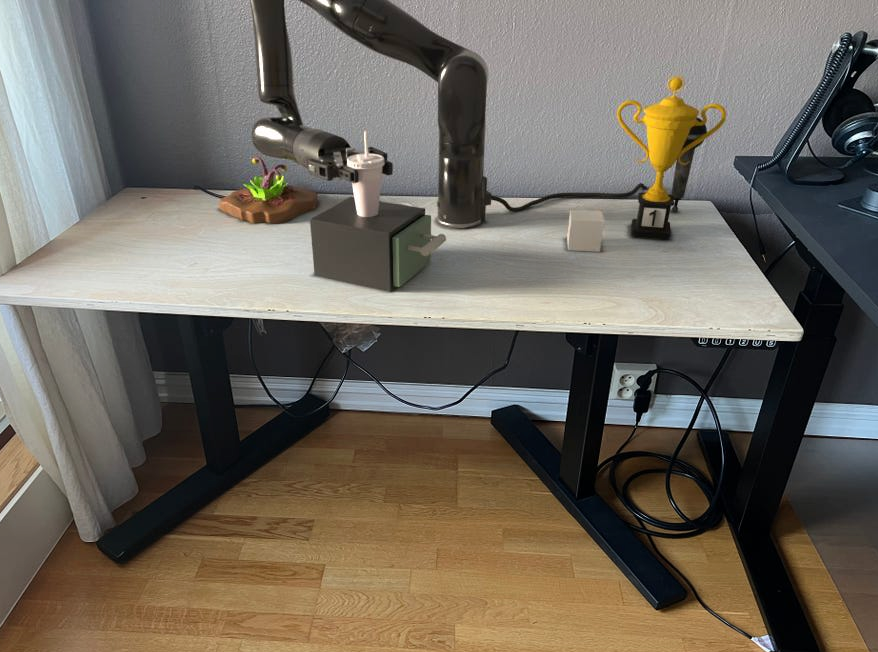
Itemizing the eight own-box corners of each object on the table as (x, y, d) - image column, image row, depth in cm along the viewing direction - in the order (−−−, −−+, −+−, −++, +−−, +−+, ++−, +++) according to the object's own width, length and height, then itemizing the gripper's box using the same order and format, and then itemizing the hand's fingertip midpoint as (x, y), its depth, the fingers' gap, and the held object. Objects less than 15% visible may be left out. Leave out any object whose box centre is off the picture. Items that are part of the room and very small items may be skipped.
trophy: (600, 237, 143) (621, 78, 127) (602, 220, 151) (622, 69, 135) (702, 246, 138) (737, 82, 123) (698, 228, 146) (731, 72, 131)
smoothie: (391, 209, 127) (389, 128, 120) (378, 221, 122) (375, 138, 115) (357, 205, 129) (354, 126, 122) (343, 217, 124) (339, 135, 116)
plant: (269, 188, 173) (264, 141, 168) (331, 202, 163) (327, 153, 158) (206, 211, 160) (198, 161, 154) (268, 228, 150) (262, 176, 144)
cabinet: (425, 263, 133) (425, 208, 127) (390, 291, 123) (388, 233, 117) (353, 249, 139) (350, 196, 134) (314, 275, 129) (309, 219, 123)
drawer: (451, 265, 130) (452, 218, 125) (421, 292, 120) (421, 242, 116) (362, 248, 137) (361, 204, 133) (327, 272, 128) (324, 225, 123)
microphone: (694, 210, 156) (714, 115, 146) (686, 219, 151) (706, 122, 141) (662, 204, 159) (679, 111, 149) (654, 213, 154) (670, 118, 144)
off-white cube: (597, 240, 141) (601, 211, 138) (600, 251, 136) (604, 221, 133) (566, 238, 142) (570, 209, 139) (567, 250, 137) (571, 220, 134)
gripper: (285, 138, 126) (336, 158, 114) (353, 125, 133) (408, 143, 122) (289, 180, 130) (339, 203, 118) (355, 165, 137) (408, 186, 125)
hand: (374, 173), depth 120 cm, fingers closed on smoothie, 6 cm apart
